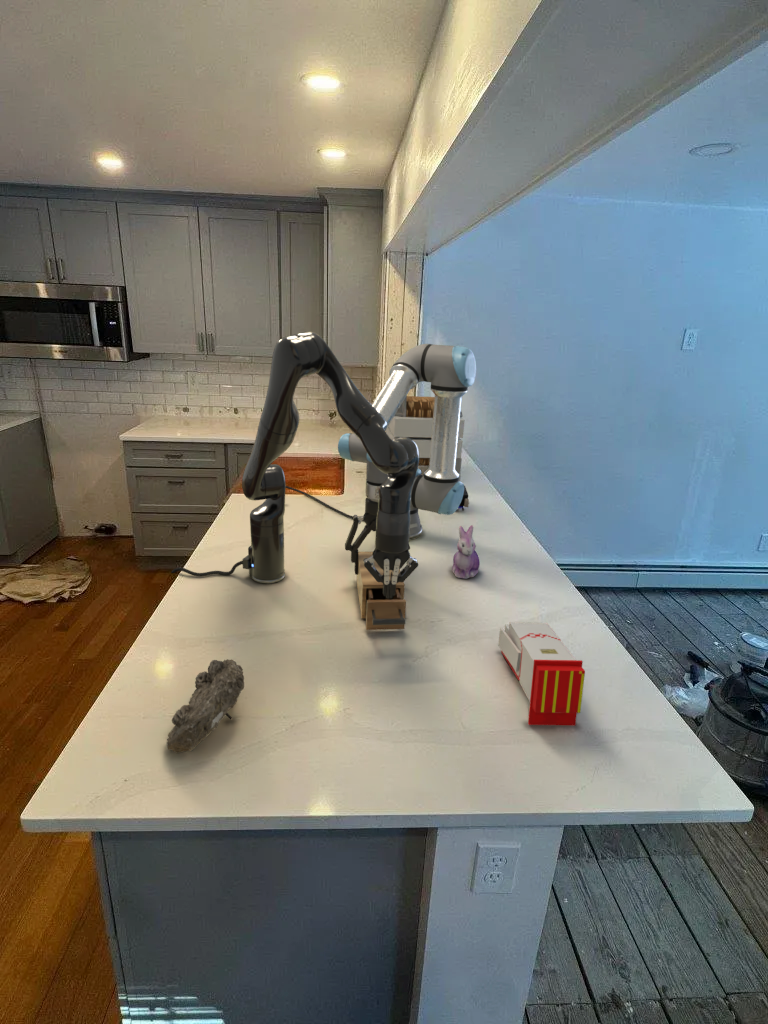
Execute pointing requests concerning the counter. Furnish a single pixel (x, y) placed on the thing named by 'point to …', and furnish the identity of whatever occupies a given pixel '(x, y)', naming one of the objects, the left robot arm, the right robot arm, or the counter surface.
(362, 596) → the cabinet
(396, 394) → the right robot arm
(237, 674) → the fossil
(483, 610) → the counter surface
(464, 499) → the figurine character
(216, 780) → the counter surface
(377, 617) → the drawer
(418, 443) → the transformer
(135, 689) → the counter surface
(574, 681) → the toy
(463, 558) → the figurine
